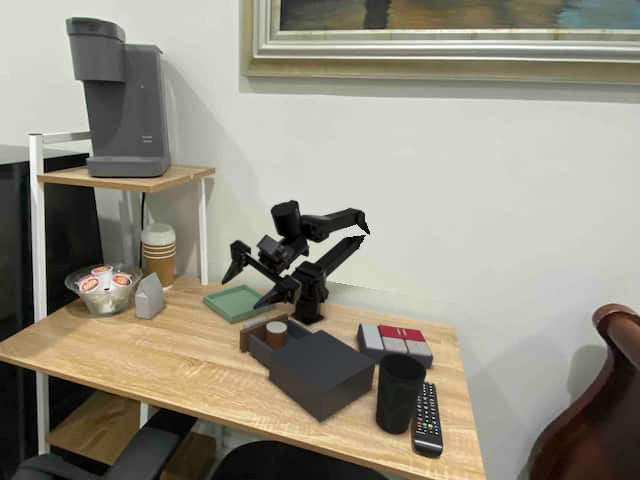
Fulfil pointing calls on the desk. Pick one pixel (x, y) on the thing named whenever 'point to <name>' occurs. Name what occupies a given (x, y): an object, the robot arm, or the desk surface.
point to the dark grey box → (321, 373)
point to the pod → (276, 335)
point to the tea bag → (149, 297)
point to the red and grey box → (393, 343)
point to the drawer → (256, 336)
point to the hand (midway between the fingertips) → (237, 295)
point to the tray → (236, 302)
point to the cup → (398, 391)
